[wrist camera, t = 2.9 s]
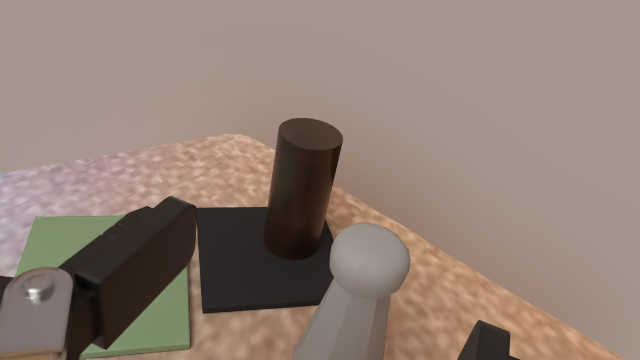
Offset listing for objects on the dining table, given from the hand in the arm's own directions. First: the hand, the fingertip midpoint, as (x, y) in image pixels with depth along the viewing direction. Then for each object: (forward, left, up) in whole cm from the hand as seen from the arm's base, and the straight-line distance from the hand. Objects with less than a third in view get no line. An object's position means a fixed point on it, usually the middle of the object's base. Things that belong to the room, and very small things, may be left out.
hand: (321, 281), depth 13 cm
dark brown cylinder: (-7, -23, -19) cm, 31 cm away
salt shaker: (-7, -9, -20) cm, 23 cm away
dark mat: (-5, -22, -20) cm, 30 cm away
